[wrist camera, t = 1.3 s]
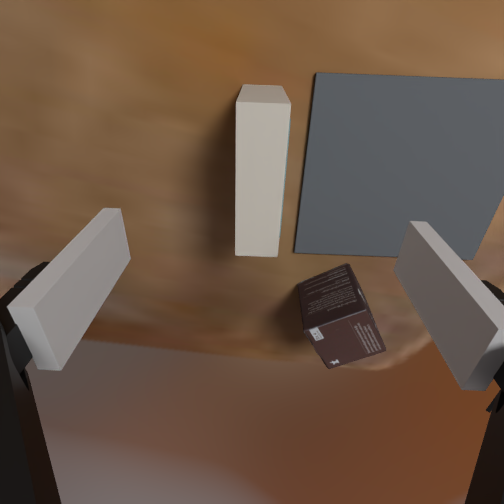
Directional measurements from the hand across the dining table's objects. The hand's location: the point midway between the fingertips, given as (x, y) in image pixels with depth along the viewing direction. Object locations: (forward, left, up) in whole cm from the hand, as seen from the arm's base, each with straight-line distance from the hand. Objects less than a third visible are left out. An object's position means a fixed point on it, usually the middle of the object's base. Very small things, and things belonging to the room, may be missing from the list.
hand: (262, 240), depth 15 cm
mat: (+13, -2, -15) cm, 20 cm away
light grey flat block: (0, 0, -15) cm, 15 cm away
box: (+8, -15, -15) cm, 23 cm away
